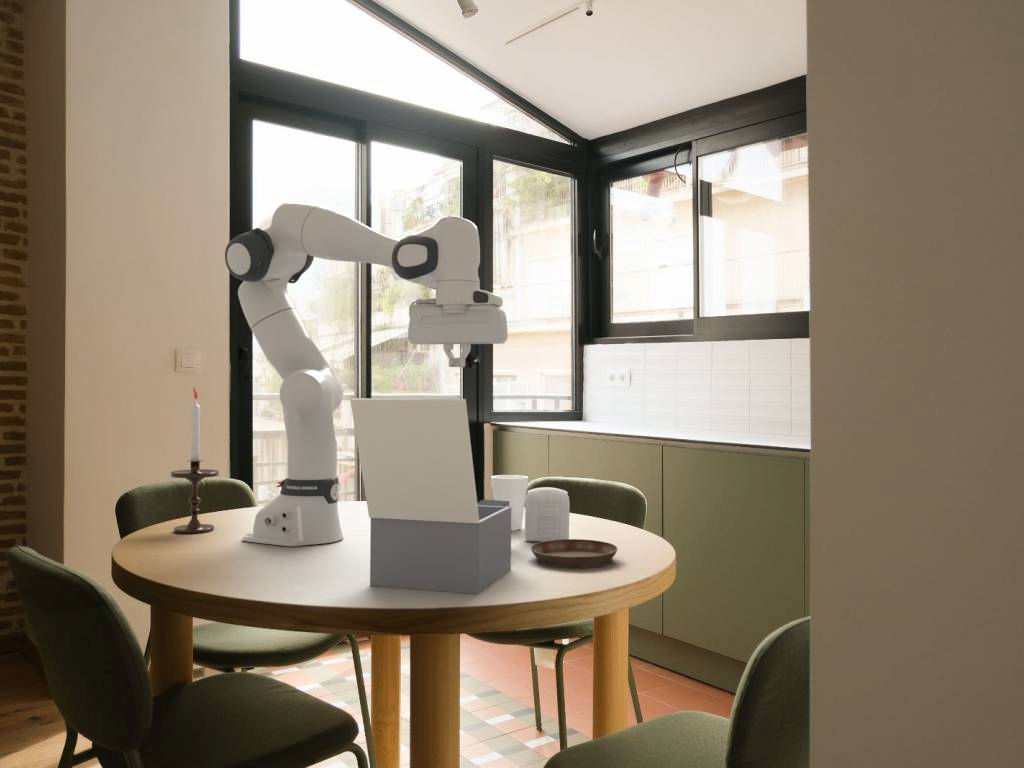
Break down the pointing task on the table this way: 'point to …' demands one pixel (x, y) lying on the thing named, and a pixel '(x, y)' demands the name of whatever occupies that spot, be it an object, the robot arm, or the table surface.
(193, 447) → the candlestick
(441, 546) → the carton
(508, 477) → the foam cup
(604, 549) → the plant saucer
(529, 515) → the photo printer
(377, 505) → the lid flap
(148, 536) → the table surface
